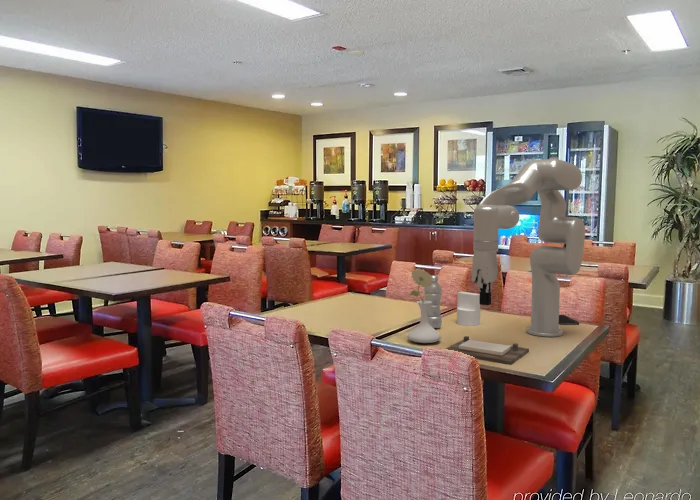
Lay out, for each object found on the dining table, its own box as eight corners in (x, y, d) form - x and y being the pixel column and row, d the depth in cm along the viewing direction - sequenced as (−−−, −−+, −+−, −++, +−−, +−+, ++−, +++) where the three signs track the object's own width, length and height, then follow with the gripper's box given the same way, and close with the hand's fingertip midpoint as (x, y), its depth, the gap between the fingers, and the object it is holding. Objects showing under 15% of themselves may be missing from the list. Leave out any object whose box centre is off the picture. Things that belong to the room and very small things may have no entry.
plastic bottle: (440, 330, 206) (440, 277, 204) (422, 329, 208) (422, 276, 206) (443, 326, 212) (443, 275, 210) (425, 325, 214) (426, 274, 212)
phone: (560, 323, 215) (545, 314, 230) (560, 326, 215) (545, 317, 230) (580, 322, 215) (564, 314, 230) (580, 325, 215) (564, 317, 230)
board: (464, 341, 190) (464, 332, 190) (528, 351, 177) (529, 341, 177) (442, 353, 176) (442, 343, 176) (511, 364, 164) (511, 354, 163)
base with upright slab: (452, 323, 218) (452, 293, 217) (466, 320, 224) (466, 290, 223) (470, 327, 211) (471, 296, 210) (484, 323, 217) (485, 293, 216)
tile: (458, 345, 176) (458, 349, 176) (501, 352, 168) (501, 356, 168) (470, 339, 184) (470, 342, 184) (512, 345, 176) (512, 349, 176)
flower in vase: (447, 343, 188) (448, 270, 186) (420, 347, 183) (421, 272, 180) (424, 334, 200) (424, 266, 197) (398, 339, 194) (398, 268, 192)
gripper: (483, 243, 180) (482, 299, 182) (464, 247, 168) (464, 307, 170) (505, 244, 176) (505, 301, 178) (488, 249, 164) (487, 310, 166)
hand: (485, 304), depth 174 cm, fingers closed
